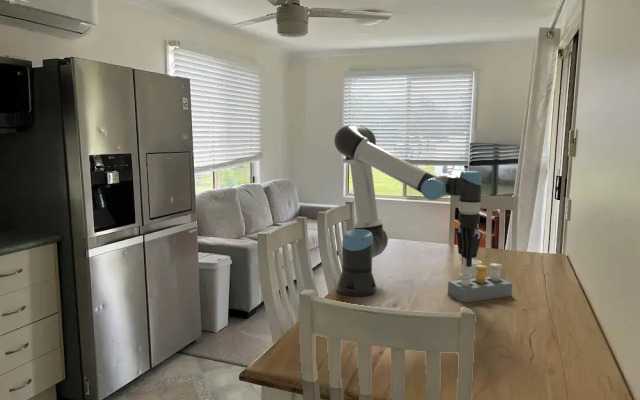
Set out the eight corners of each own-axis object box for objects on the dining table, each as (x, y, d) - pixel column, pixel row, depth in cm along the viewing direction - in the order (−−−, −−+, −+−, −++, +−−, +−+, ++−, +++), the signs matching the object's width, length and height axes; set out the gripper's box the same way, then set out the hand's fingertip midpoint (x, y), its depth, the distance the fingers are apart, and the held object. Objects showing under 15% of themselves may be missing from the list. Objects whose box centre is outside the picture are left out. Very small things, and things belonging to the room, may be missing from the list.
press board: (464, 302, 171) (464, 289, 171) (447, 293, 181) (448, 281, 180) (511, 295, 179) (512, 283, 178) (493, 287, 188) (494, 275, 188)
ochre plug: (479, 285, 176) (480, 268, 175) (471, 281, 180) (472, 265, 180) (488, 284, 178) (489, 267, 177) (481, 280, 182) (482, 264, 181)
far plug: (494, 283, 179) (495, 266, 178) (486, 280, 183) (487, 263, 182) (503, 282, 180) (504, 265, 179) (495, 279, 184) (496, 262, 184)
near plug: (463, 294, 174) (464, 276, 173) (456, 290, 178) (457, 273, 177) (473, 292, 176) (474, 275, 175) (465, 289, 180) (466, 272, 179)
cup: (480, 282, 195) (481, 264, 193) (455, 279, 198) (456, 261, 197) (481, 278, 201) (482, 260, 200) (457, 275, 205) (458, 257, 204)
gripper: (489, 214, 168) (485, 278, 171) (466, 209, 180) (463, 268, 183) (472, 216, 166) (469, 280, 169) (450, 210, 178) (447, 270, 181)
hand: (466, 274), depth 176 cm, fingers closed
